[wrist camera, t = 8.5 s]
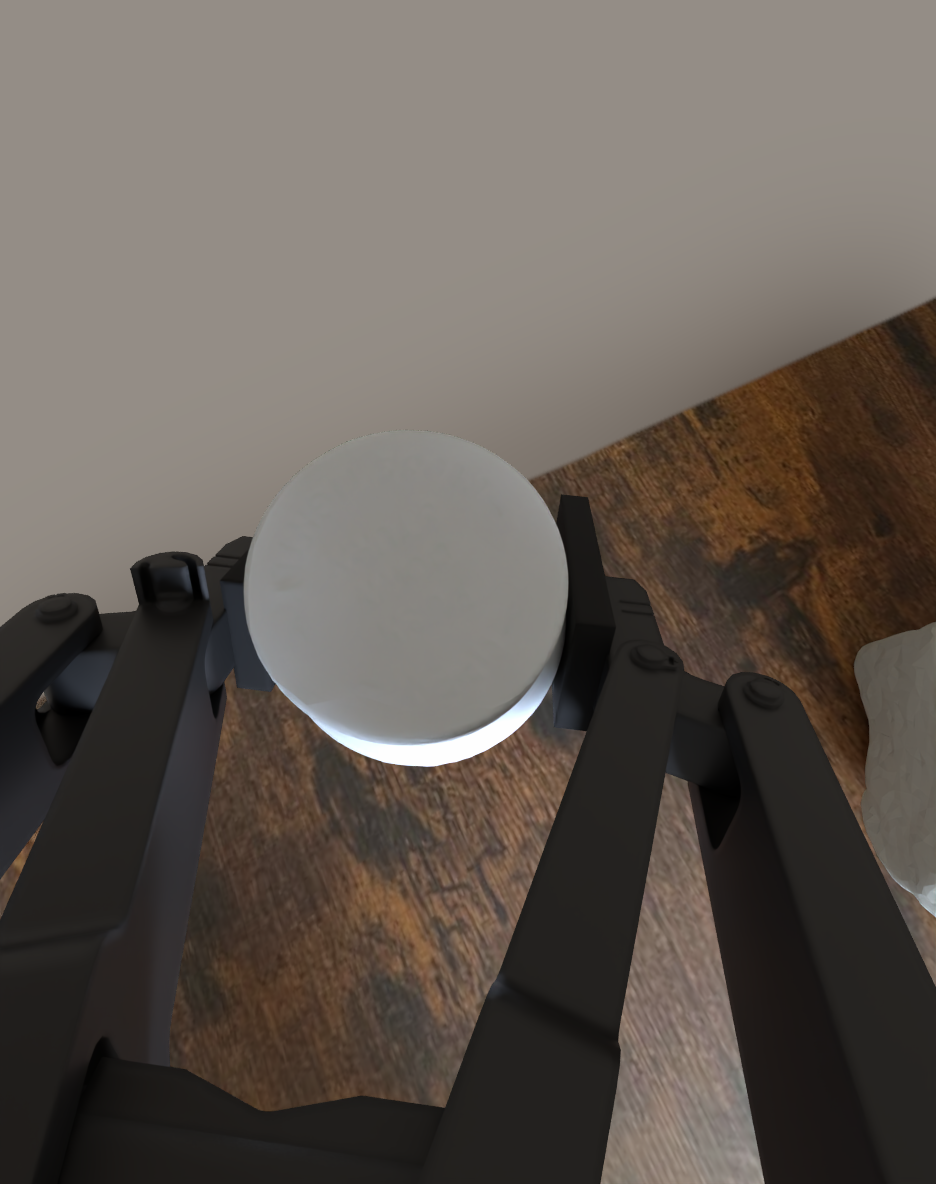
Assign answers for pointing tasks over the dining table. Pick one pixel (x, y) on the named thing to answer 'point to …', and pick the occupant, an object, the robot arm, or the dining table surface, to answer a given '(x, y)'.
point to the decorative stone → (902, 756)
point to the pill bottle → (409, 596)
